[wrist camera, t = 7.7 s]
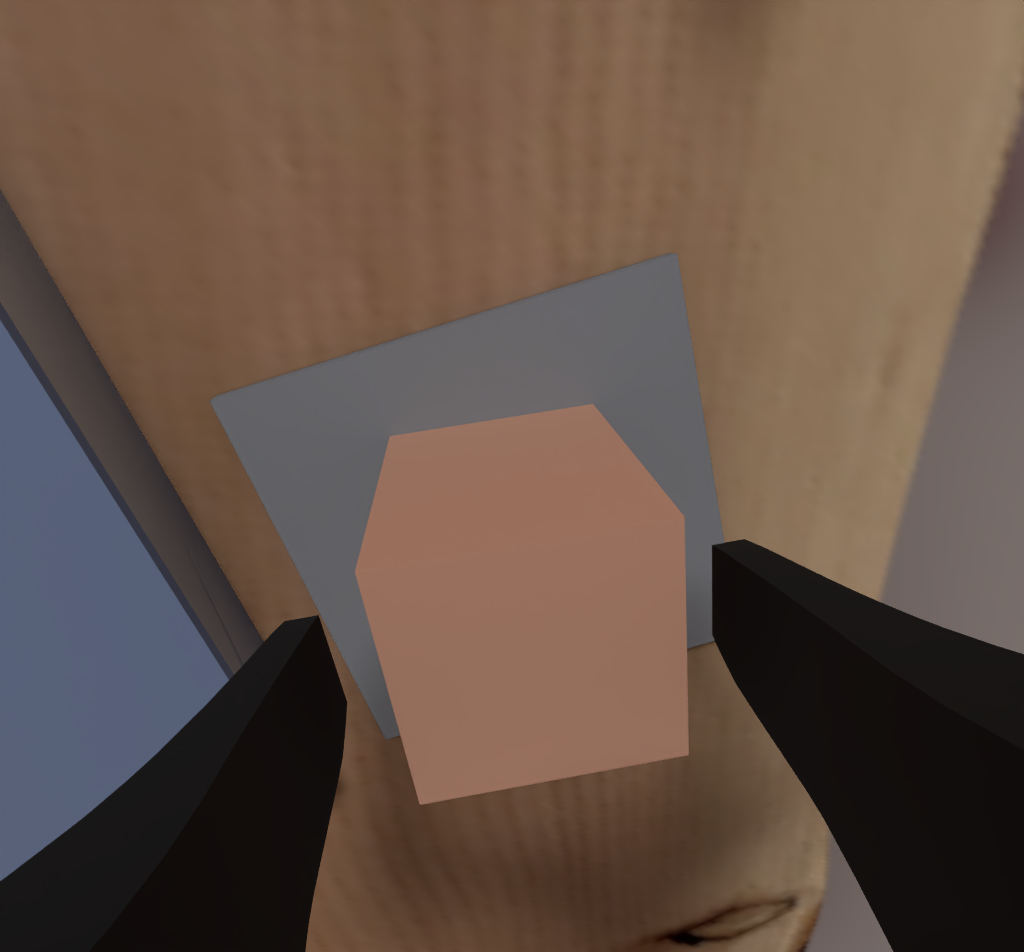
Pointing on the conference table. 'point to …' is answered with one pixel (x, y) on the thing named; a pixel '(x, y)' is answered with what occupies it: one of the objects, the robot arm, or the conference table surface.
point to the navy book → (89, 575)
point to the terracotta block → (526, 603)
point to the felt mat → (469, 399)
